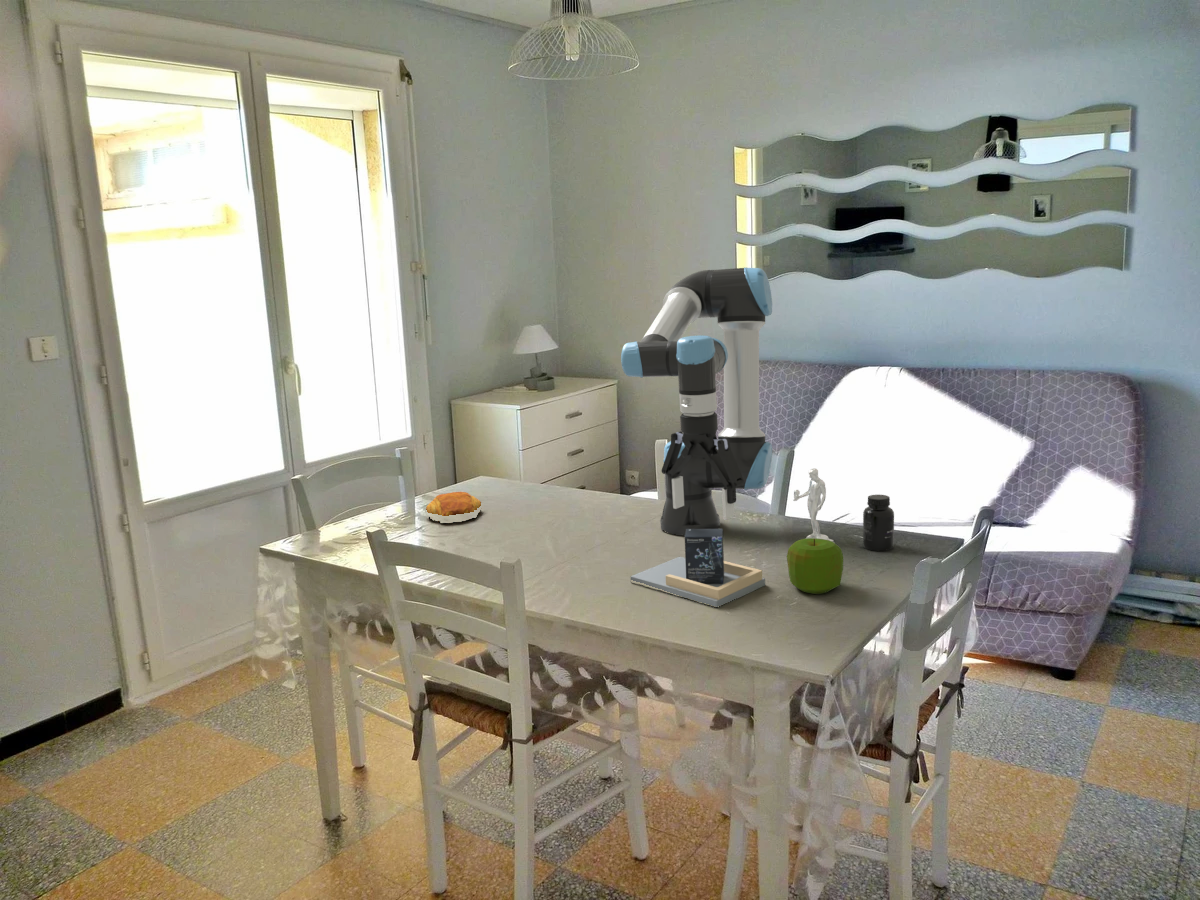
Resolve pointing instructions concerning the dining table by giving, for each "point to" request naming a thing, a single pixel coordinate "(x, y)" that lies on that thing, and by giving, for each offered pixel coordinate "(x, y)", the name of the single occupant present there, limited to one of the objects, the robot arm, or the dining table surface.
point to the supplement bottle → (878, 524)
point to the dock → (715, 594)
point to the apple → (815, 565)
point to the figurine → (814, 502)
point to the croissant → (453, 504)
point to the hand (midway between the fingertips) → (703, 512)
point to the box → (704, 555)
